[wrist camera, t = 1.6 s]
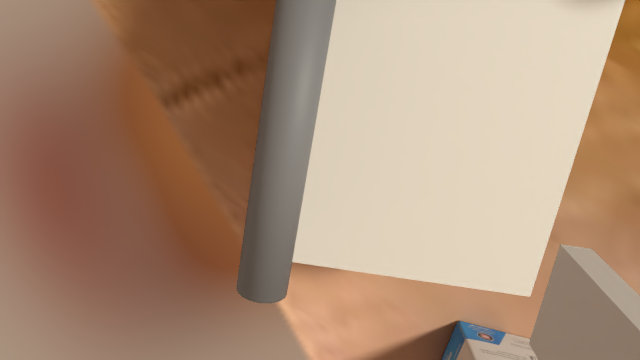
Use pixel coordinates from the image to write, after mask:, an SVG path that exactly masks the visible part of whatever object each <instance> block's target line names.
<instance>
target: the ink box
mask: <svg viewBox="0 0 640 360" xmlns="http://www.w3.org/2000/svg"><path fill="white" fill-rule="evenodd" d="M529 342H530V339H528V338H524V337H520V336H516V335H512V334H508V333H504V332H500V331H497V330H493V329H489V328H485V327H481V326H477V325H473V324H470V323H466V322H462V321H458V322H457V324H456V326H455V328H454V331H453V333H452V335H451V338H450V340H449V343H448V345H447V347H446V350H445V352H444V354H443V357H442V360H538V358H537V356H536V355H535V353H534V351H533V350H532V348H531V346H530V345H529Z"/></svg>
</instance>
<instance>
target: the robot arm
mask: <svg viewBox="0 0 640 360" xmlns="http://www.w3.org/2000/svg"><path fill="white" fill-rule="evenodd" d="M529 345H530V346H531V348H532V350H533V351H534V353H535V355H536V356H537V358H538V360H640V296H639V295H638V294H637V293H636V292H635V291H634V290H633V289H632V288H631V287H630V286H629V285H628V284H627V283H626V282H625V281H624V280H623V279H622V278H621V277H620V276H619V275H618V274H617V273H616V272H615V271H614V270H613V269H612V268H611V267H610V266H609V265H608V264H607V263H606V262H605V261H604V260H603V259H602V258H601V257H600V256H599V255H597V254H596V253H595V252H594V251H593V250H592V249H590V248H582V247H575V246H568V245H561V244H560V247H559V250H558V253H557V257H556V260H555V263H554V266H553V269H552V272H551V276H550V279H549V282H548V285H547V288H546V291H545V295H544V298H543V301H542V304H541V307H540V310H539V314H538V317H537V320H536V323H535V326H534V329H533V332H532V336H531V339H530V342H529Z"/></svg>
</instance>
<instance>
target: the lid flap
mask: <svg viewBox="0 0 640 360" xmlns="http://www.w3.org/2000/svg"><path fill="white" fill-rule="evenodd" d="M624 2H625V0H276V4H275V12H274V19H273V26H272V33H271V41H270V48H269V55H268V63H267V70H266V77H265V84H264V92H263V99H262V106H261V113H260V121H259V128H258V135H257V142H256V150H255V157H254V164H253V171H252V179H251V186H250V193H249V200H248V208H247V215H246V222H245V229H244V237H243V244H242V251H241V258H240V266H239V274H238V280H237V291H238V293H239V294H240V295H241V296H242V297H244V298H246V299H248V300H250V301H253V302H258V303H275V302H278V301H281V300H282V299H284V298H285V297H286V295H287V289H288V283H289V277H290V271H291V266H292V262H295V263H302V264H309V265H316V266H322V267H329V268H336V269H343V270H350V271H357V272H364V273H371V274H378V275H384V276H391V277H398V278H405V279H412V280H419V281H426V282H433V283H440V284H446V285H453V286H460V287H467V288H474V289H481V290H488V291H495V292H502V293H508V294H515V295H522V296H529V297H530V296H531V292H532V289H533V286H534V283H535V280H536V277H537V274H538V271H539V267H540V264H541V261H542V258H543V255H544V252H545V249H546V246H547V242H548V239H549V236H550V233H551V230H552V227H553V224H554V221H555V217H556V214H557V211H558V208H559V205H560V202H561V199H562V196H563V192H564V189H565V186H566V183H567V180H568V177H569V174H570V171H571V167H572V164H573V161H574V158H575V155H576V152H577V149H578V146H579V142H580V139H581V136H582V133H583V130H584V127H585V124H586V121H587V117H588V114H589V111H590V108H591V105H592V102H593V99H594V96H595V92H596V89H597V86H598V83H599V80H600V77H601V74H602V71H603V67H604V64H605V61H606V58H607V55H608V52H609V49H610V46H611V42H612V39H613V36H614V33H615V30H616V27H617V24H618V21H619V17H620V14H621V11H622V8H623V5H624Z"/></svg>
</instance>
